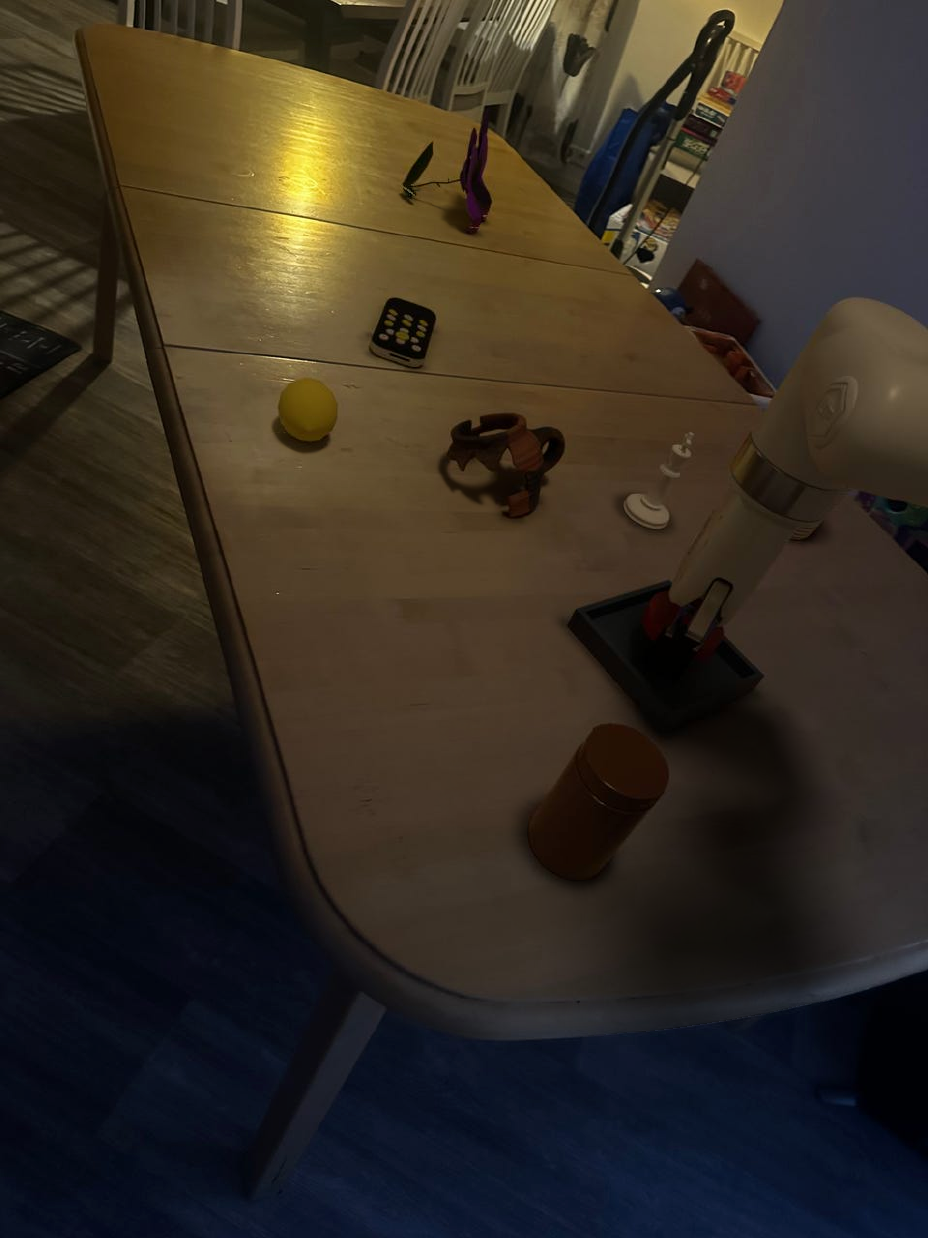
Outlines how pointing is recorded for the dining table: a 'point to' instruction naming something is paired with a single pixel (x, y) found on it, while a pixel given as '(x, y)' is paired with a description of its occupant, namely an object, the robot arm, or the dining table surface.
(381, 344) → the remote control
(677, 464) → the chess piece
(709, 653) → the jar lid
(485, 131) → the flower
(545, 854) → the jar
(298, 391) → the lemon
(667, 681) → the tray
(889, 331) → the robot arm
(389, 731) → the dining table surface
